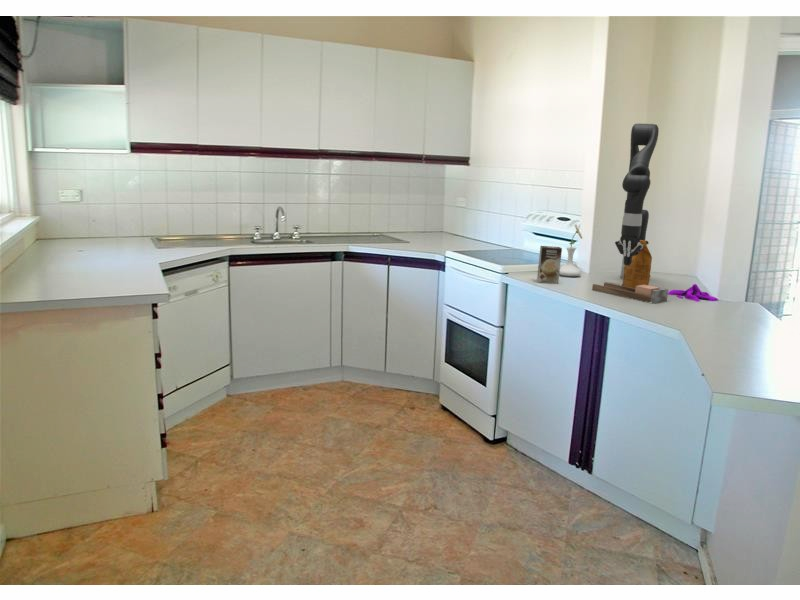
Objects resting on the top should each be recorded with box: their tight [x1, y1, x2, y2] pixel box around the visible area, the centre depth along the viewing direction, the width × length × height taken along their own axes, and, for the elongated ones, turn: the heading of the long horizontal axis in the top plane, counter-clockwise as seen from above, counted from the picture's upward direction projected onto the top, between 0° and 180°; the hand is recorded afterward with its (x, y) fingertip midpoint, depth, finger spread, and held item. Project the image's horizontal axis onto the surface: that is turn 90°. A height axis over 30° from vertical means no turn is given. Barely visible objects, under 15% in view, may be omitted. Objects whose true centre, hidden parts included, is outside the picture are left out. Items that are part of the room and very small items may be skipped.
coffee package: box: [621, 239, 653, 288], centre depth 288 cm, size 10×12×22 cm
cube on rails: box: [591, 281, 669, 304], centre depth 272 cm, size 10×30×5 cm, turn 37°
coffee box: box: [536, 245, 563, 284], centre depth 295 cm, size 9×6×16 cm
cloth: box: [668, 283, 719, 303], centre depth 273 cm, size 22×19×6 cm
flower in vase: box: [559, 223, 583, 277], centre depth 312 cm, size 13×11×25 cm
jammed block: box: [635, 285, 660, 296], centre depth 266 cm, size 6×7×5 cm
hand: (627, 265), depth 272 cm, fingers closed
